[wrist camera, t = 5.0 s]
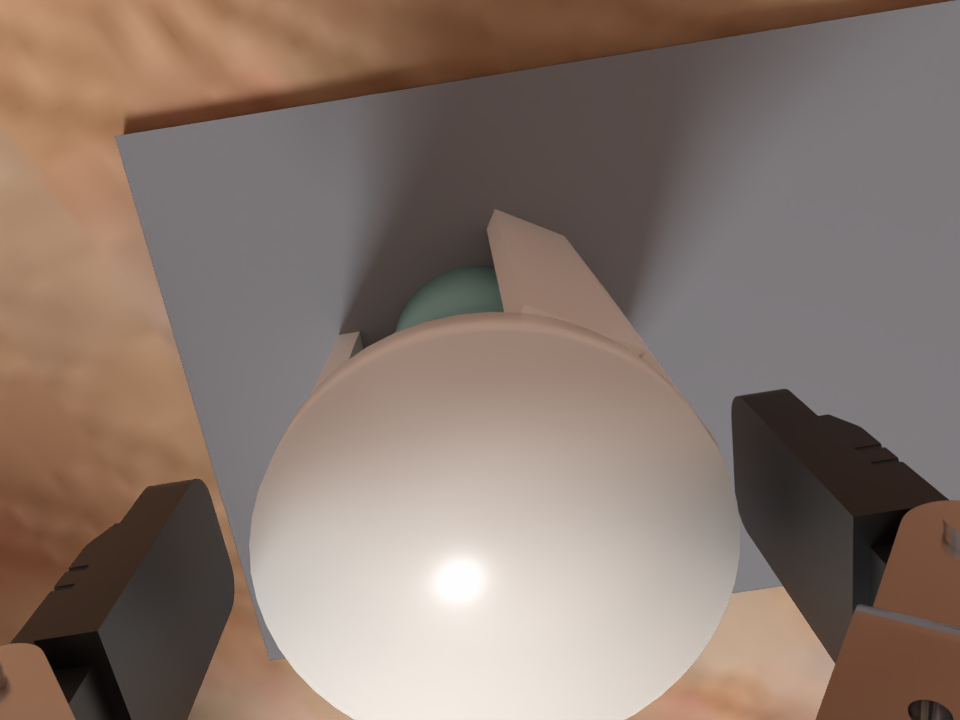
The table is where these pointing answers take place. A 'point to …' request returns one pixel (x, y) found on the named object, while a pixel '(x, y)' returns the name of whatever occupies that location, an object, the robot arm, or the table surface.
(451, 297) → the teal egg-shaped capsule
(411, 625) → the cover cup
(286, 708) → the table surface
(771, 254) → the mat
